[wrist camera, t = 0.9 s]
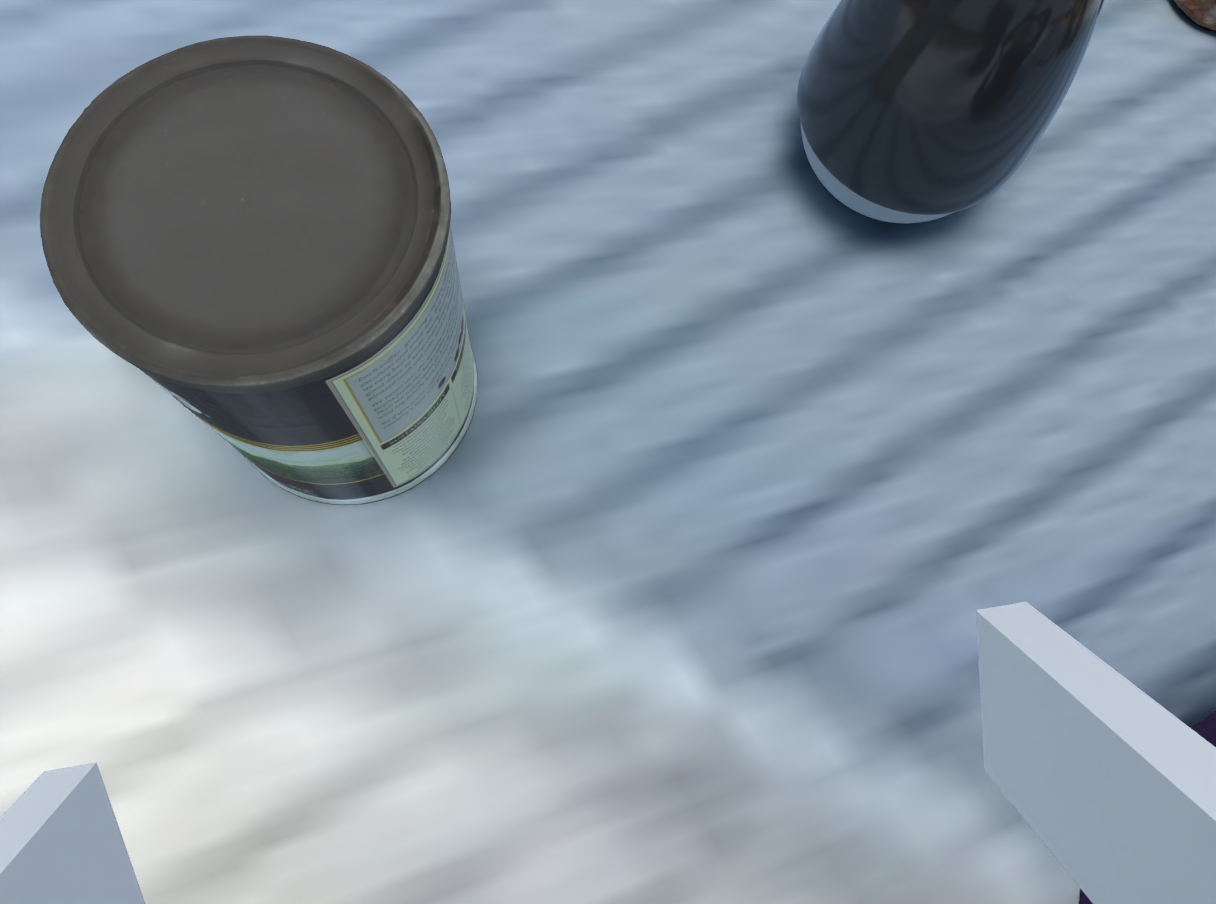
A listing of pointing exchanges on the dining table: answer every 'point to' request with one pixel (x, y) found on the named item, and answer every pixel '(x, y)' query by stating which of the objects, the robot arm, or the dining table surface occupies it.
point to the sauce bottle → (1200, 11)
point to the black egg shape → (935, 98)
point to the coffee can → (273, 259)
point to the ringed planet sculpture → (1210, 729)
